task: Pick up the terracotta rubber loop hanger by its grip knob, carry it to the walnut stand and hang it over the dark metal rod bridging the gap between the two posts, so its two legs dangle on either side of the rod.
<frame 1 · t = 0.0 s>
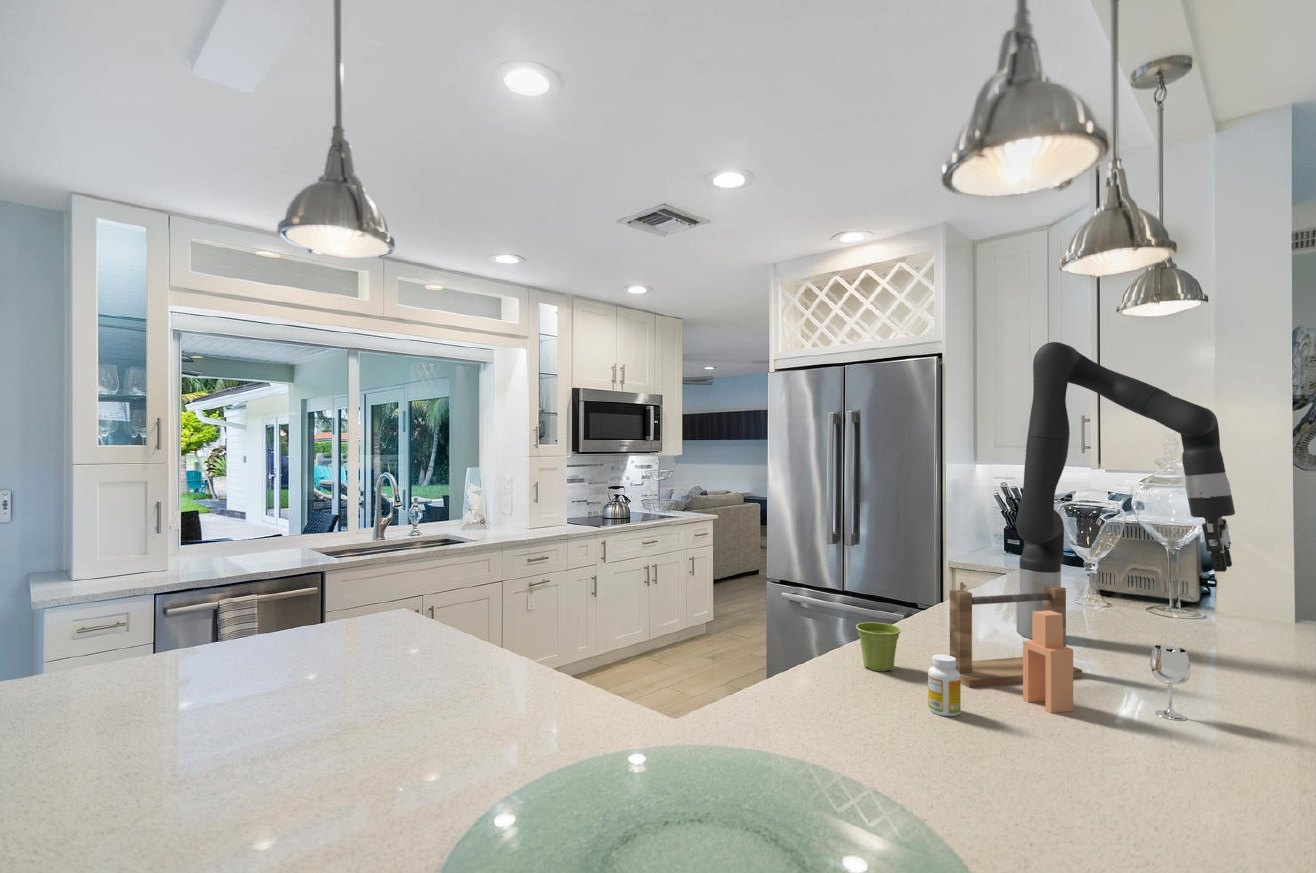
hand: (1223, 569, 142), 22 cm above the countertop, tool pointing down, fingers open, 8 cm apart
loop hanger: (1047, 705, 122), on the countertop
hook stand: (1008, 673, 139), on the countertop
supplement bottle: (944, 712, 119), on the countertop
plant pot: (878, 668, 143), on the countertop
wineglass: (1170, 716, 118), on the countertop
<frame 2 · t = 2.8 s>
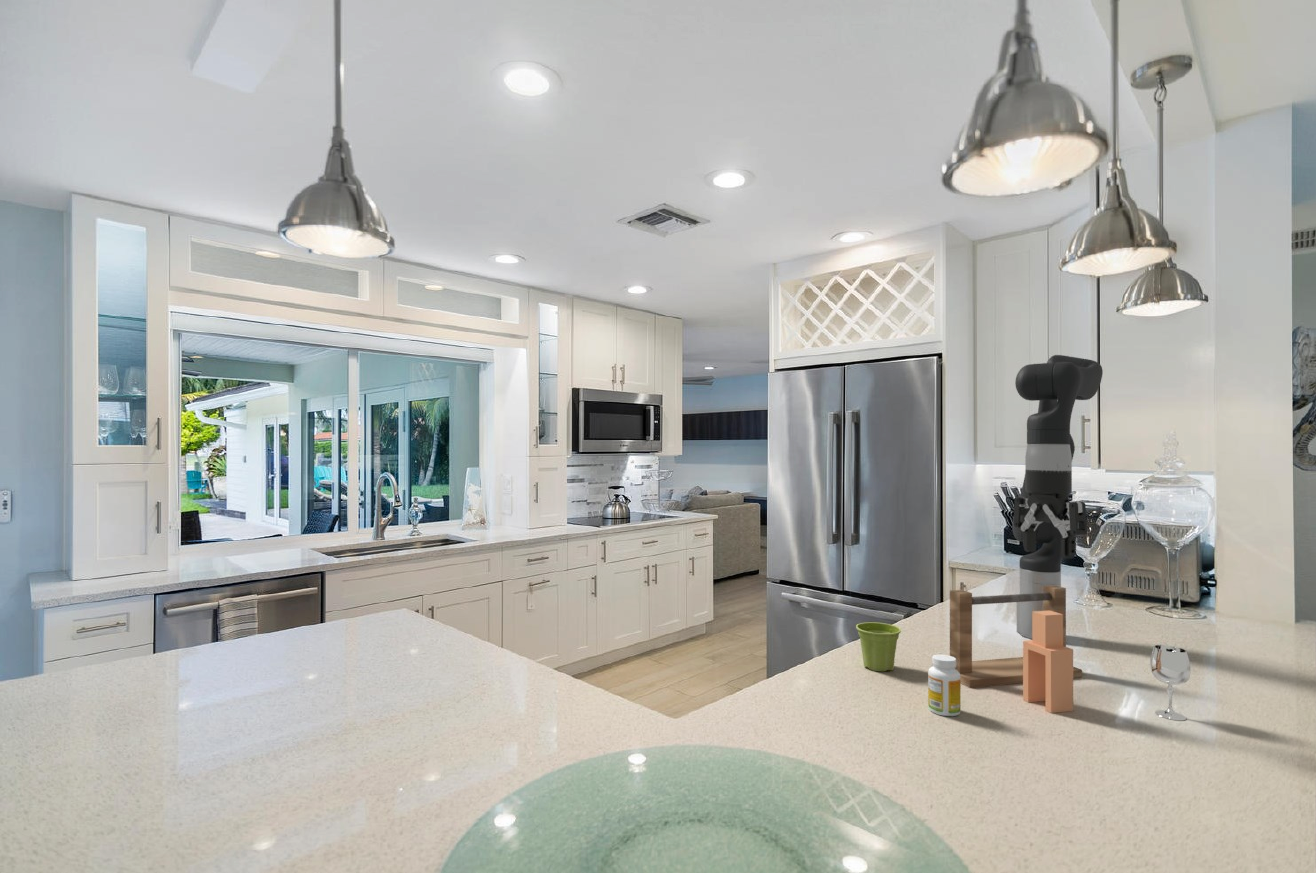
hand: (1048, 554, 123), 28 cm above the countertop, tool pointing down, fingers open, 8 cm apart
nothing on the countertop moved.
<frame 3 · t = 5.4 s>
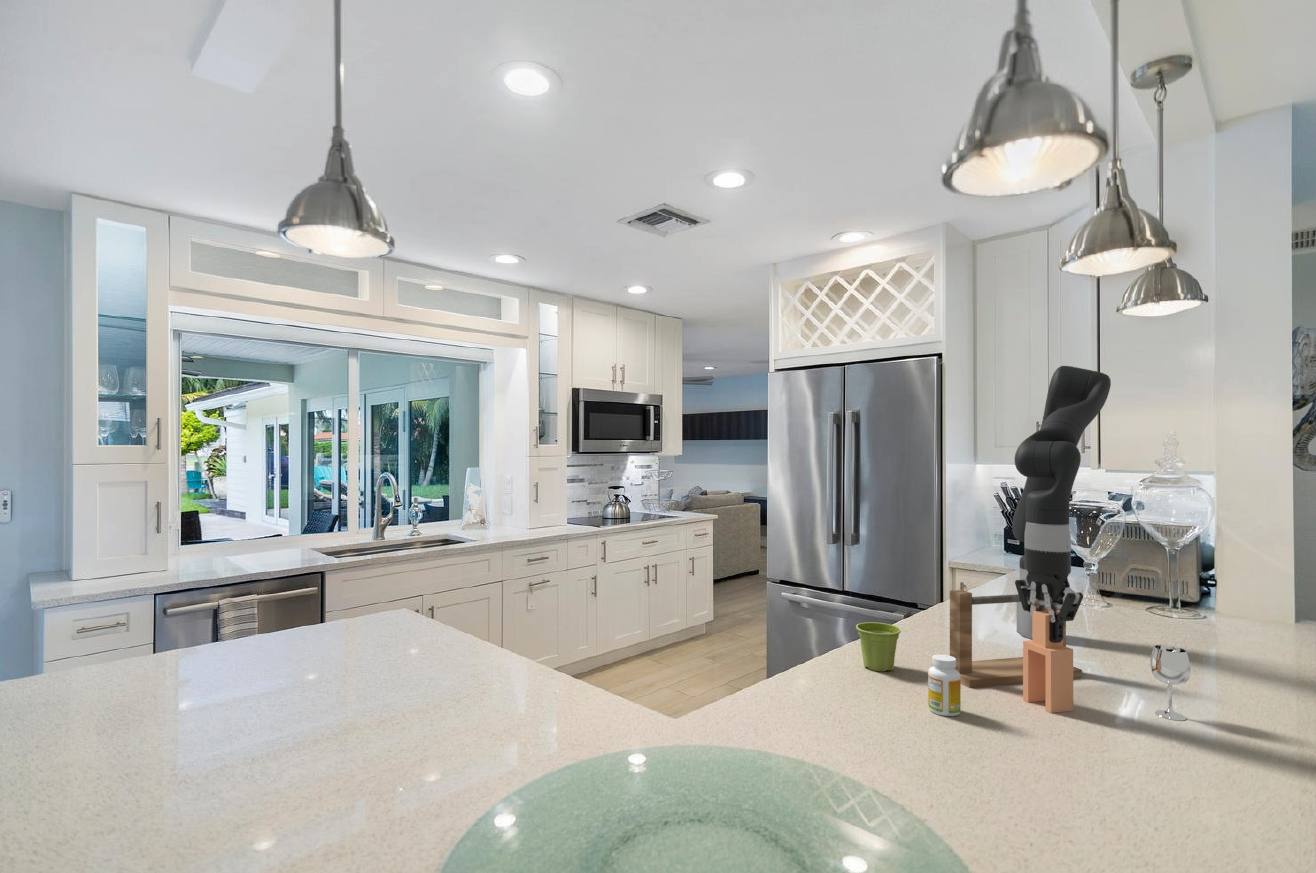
hand: (1047, 638, 122), 12 cm above the countertop, tool pointing down, fingers closed on loop hanger, 3 cm apart
loop hanger: (1047, 705, 122), on the countertop, touching gripper
everything else where it was.
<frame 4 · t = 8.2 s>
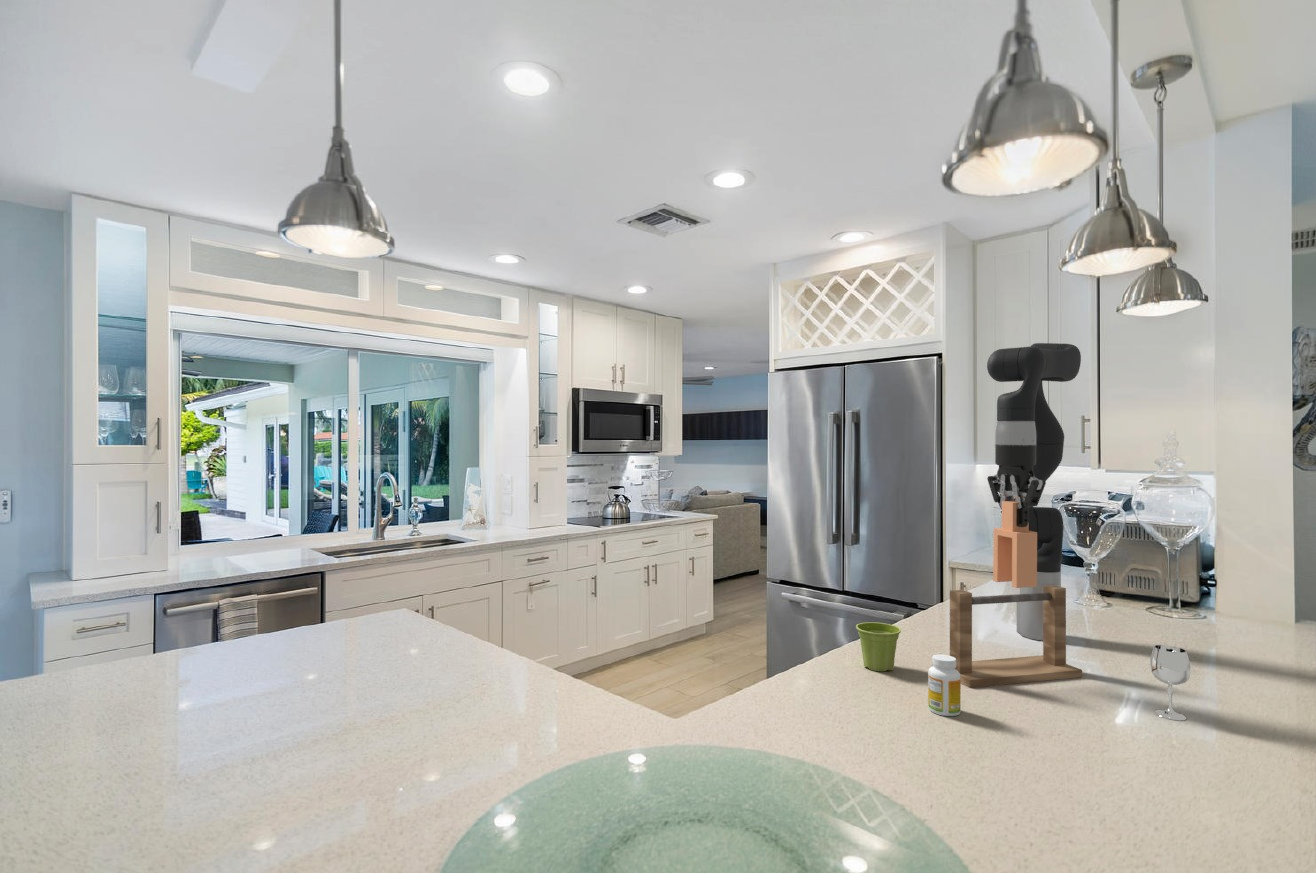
hand: (1014, 524, 137), 32 cm above the countertop, tool pointing down, fingers closed on loop hanger, 3 cm apart
loop hanger: (1014, 583, 137), point 20 cm above the countertop, touching gripper
everything else where it was.
when the fingers open (21 cm above the countertop, at t = 10.9 s): loop hanger drops 1 cm, resting on hook stand.
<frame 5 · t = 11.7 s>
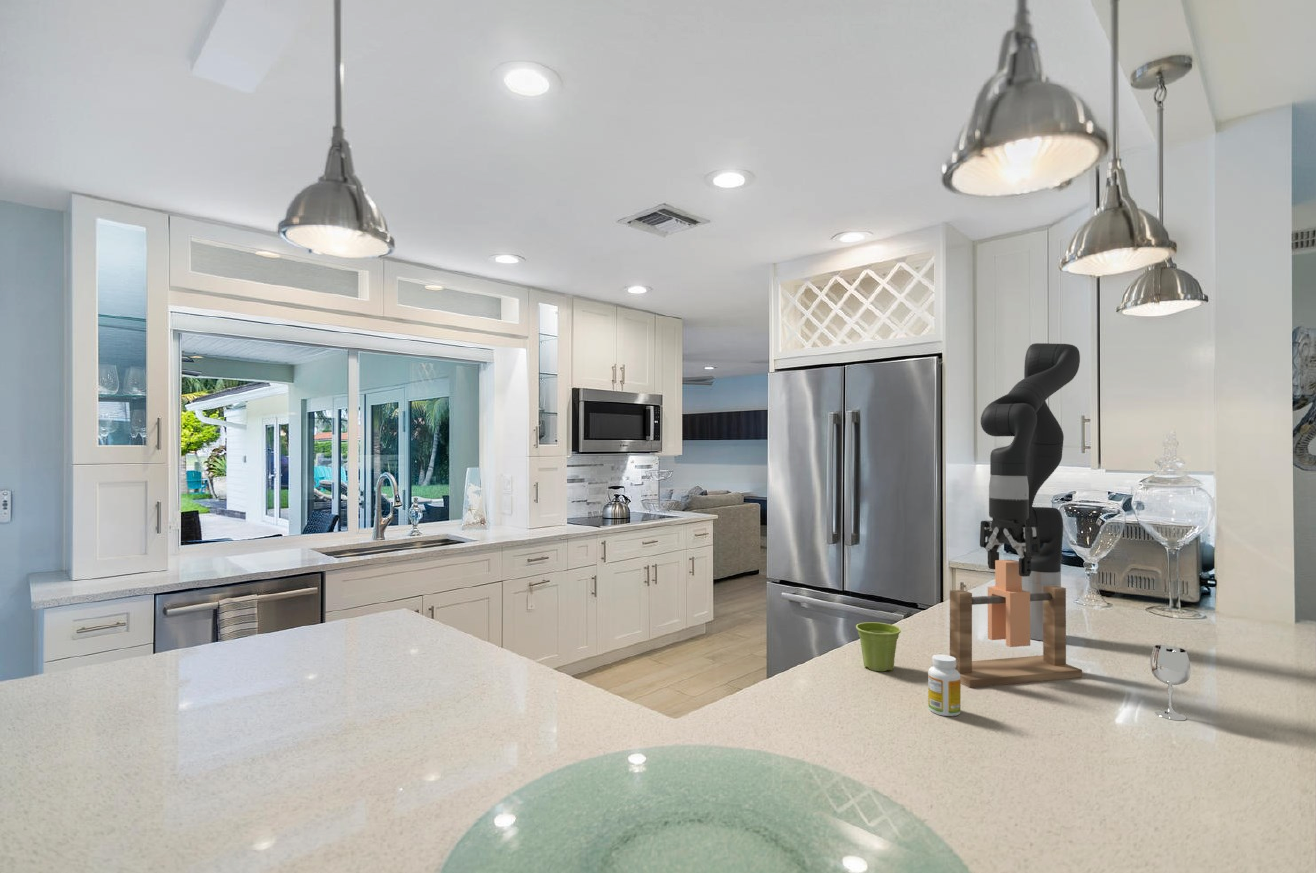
hand: (1008, 572, 140), 22 cm above the countertop, tool pointing down, fingers open, 8 cm apart
loop hanger: (1008, 642, 139), point 7 cm above the countertop, touching hook stand
everything else where it was.
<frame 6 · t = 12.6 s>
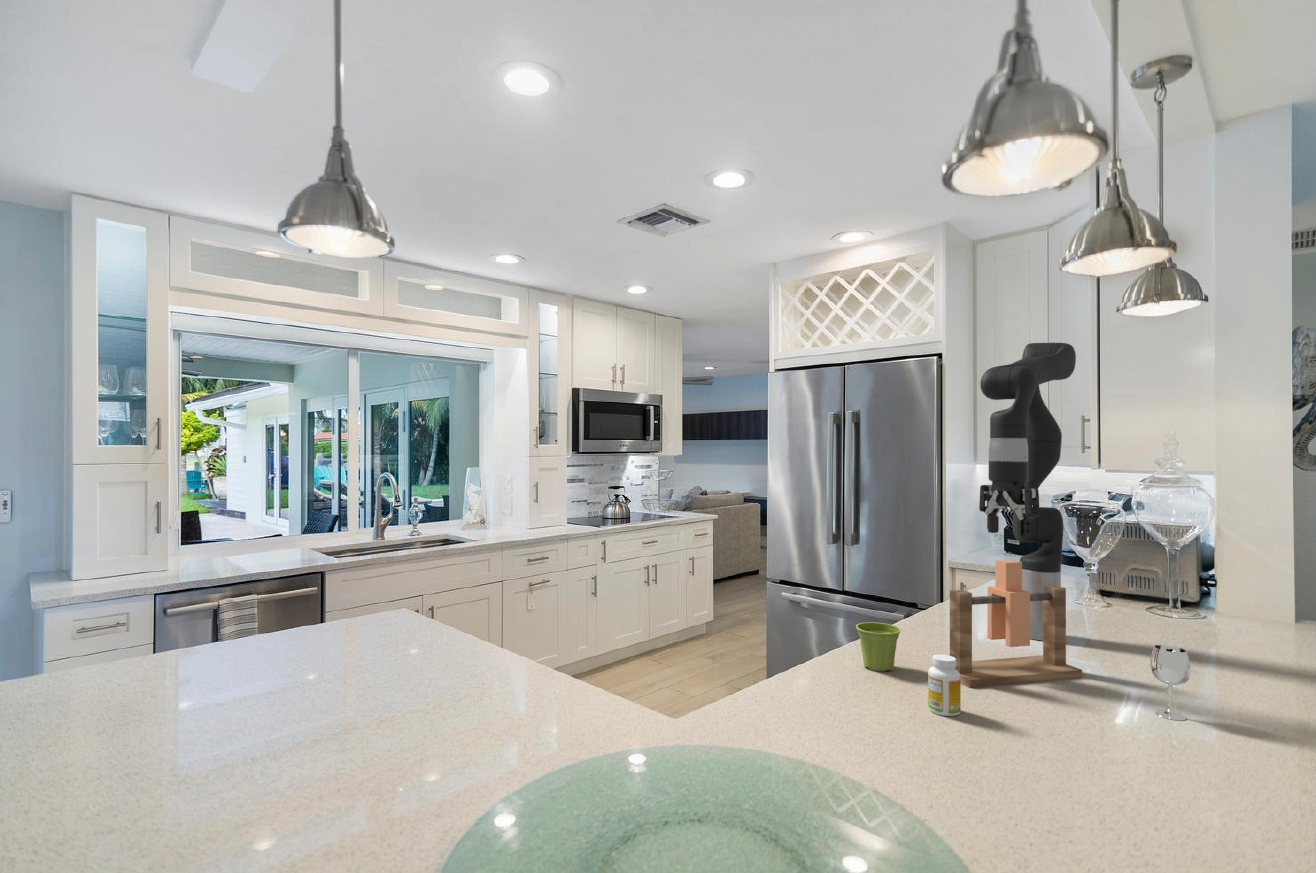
hand: (1007, 535, 140), 30 cm above the countertop, tool pointing down, fingers open, 8 cm apart
nothing on the countertop moved.
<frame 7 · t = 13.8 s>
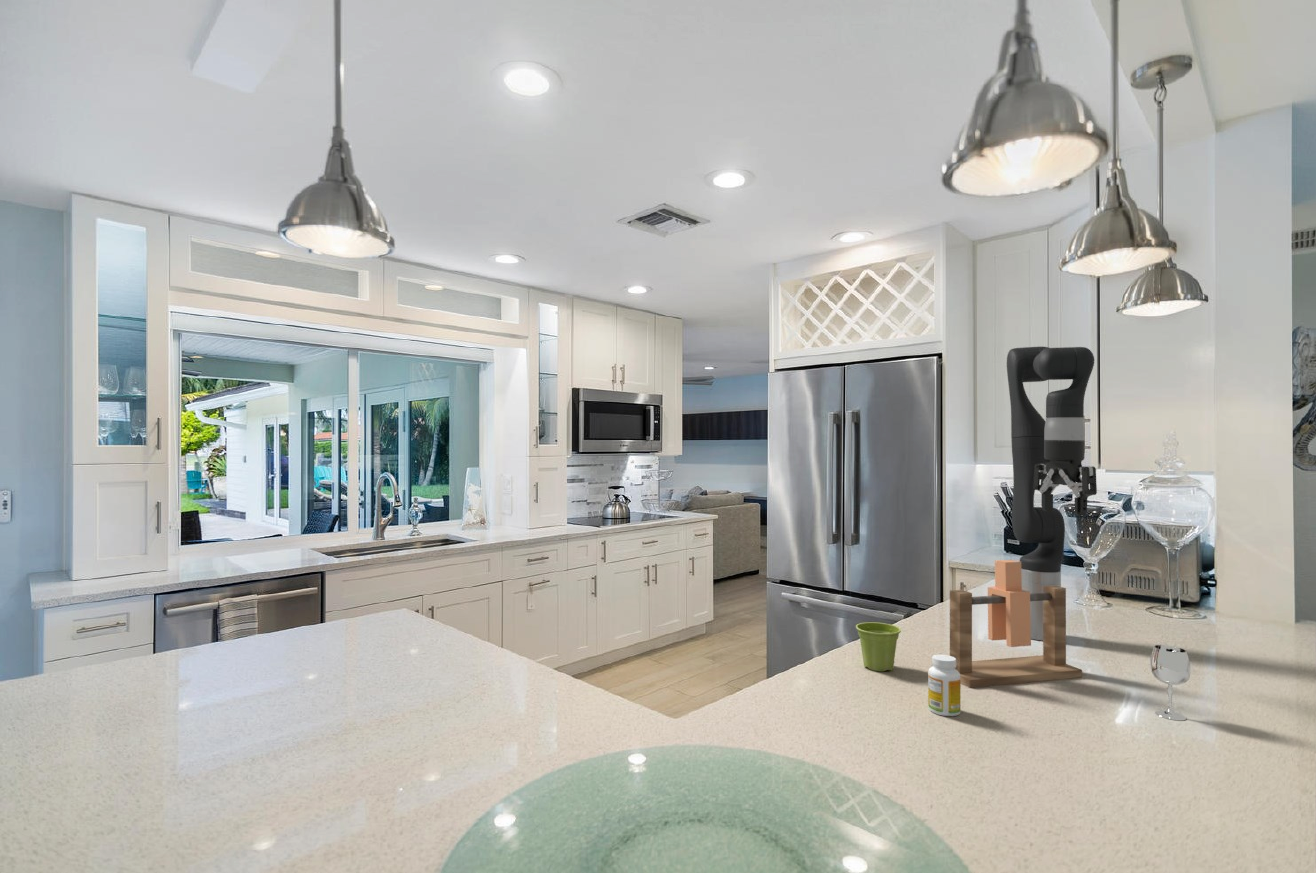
hand: (1063, 512, 143), 34 cm above the countertop, tool pointing down, fingers open, 8 cm apart
nothing on the countertop moved.
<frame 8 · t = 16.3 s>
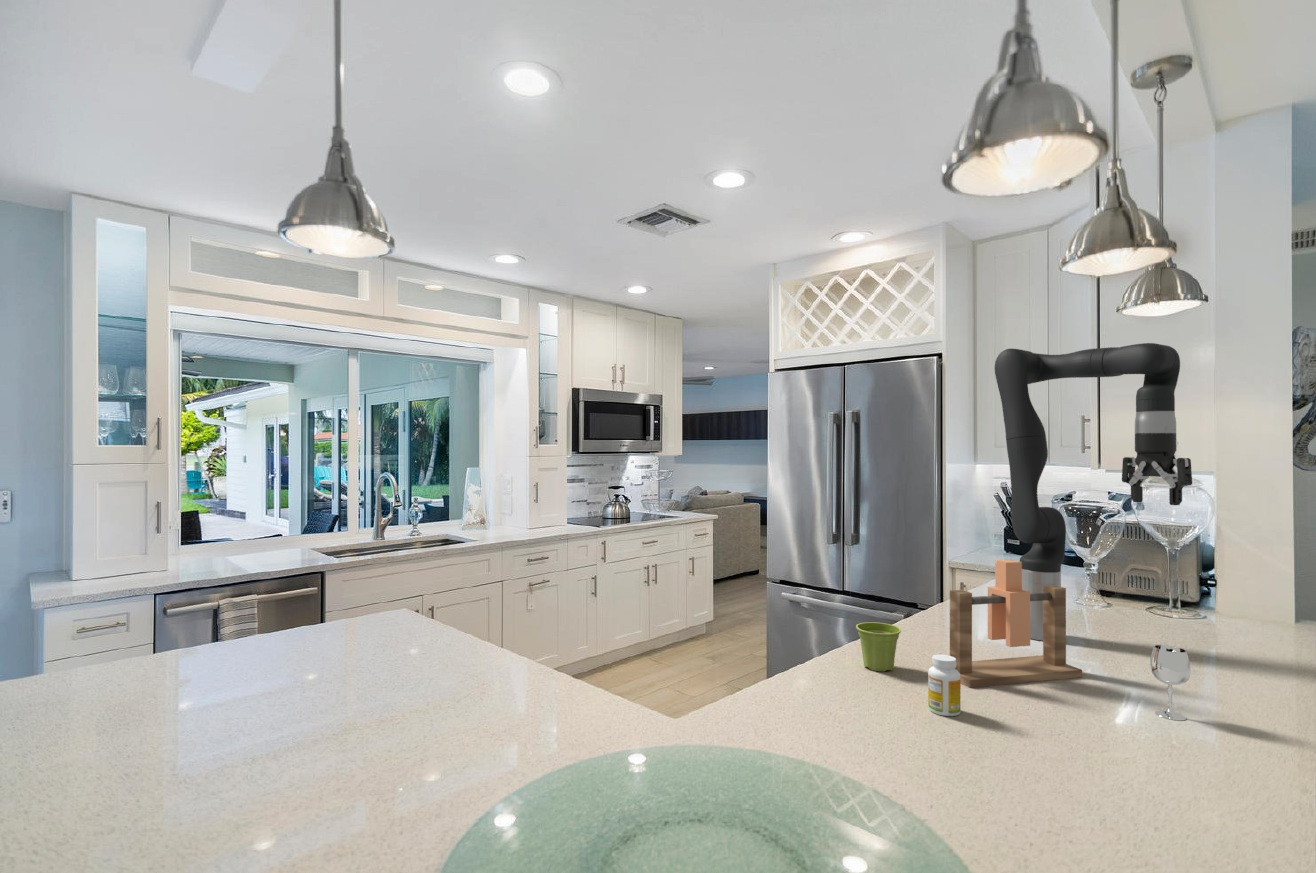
hand: (1155, 503, 147), 36 cm above the countertop, tool pointing down, fingers open, 8 cm apart
nothing on the countertop moved.
at the end: loop hanger inside the target area on the hook stand (0.0 cm from its centre), point 6.8 cm above the hook stand's base; the gripper is holding nothing; loop hanger tilted 0° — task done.
